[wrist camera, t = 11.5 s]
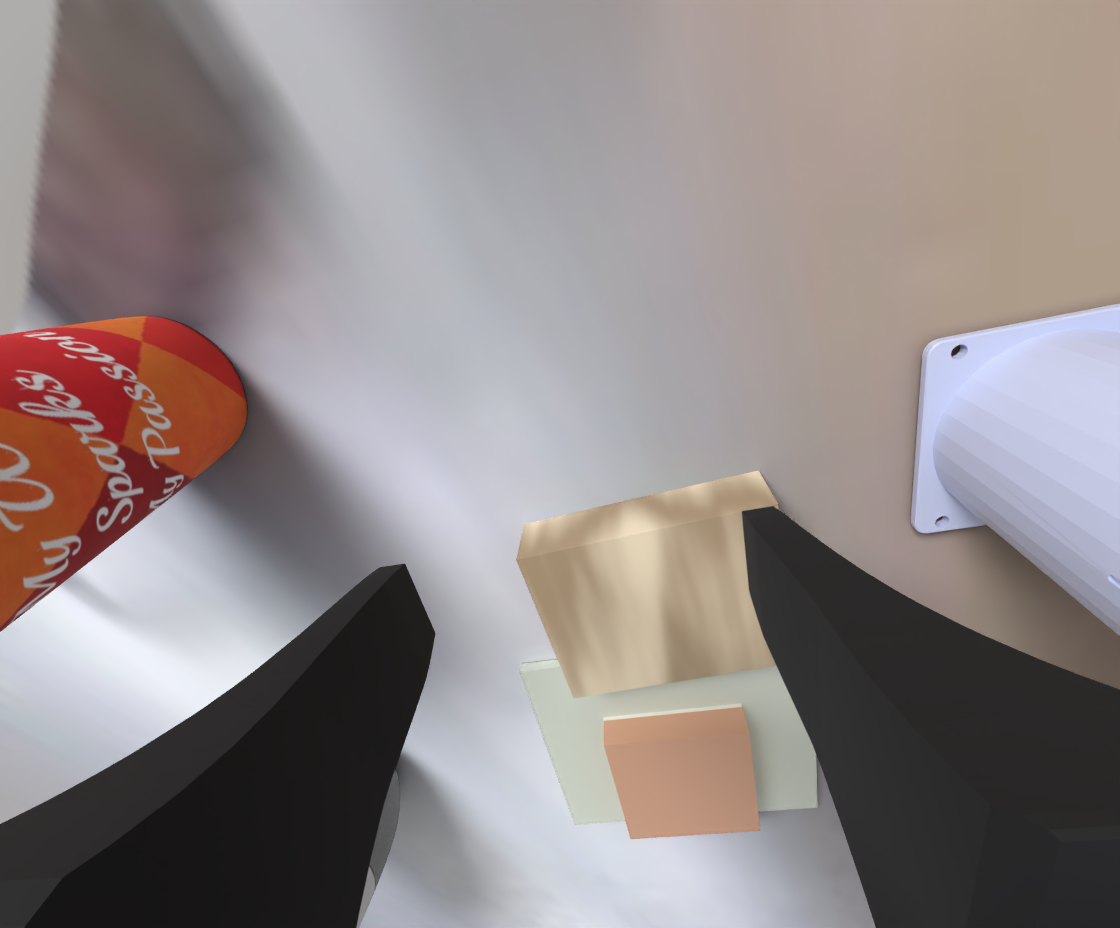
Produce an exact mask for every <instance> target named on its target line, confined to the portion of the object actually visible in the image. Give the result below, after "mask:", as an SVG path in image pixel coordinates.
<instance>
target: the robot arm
mask: <svg viewBox="0 0 1120 928" xmlns="http://www.w3.org/2000/svg"><path fill="white" fill-rule="evenodd" d="M958 345H960V346H961V348H960V351H959V352H958V353H957V354H956V355H954V356H952V357H951V352H952V349H953V348H954V347H955V346H958ZM942 516H943V518H942V519H941V520H940V521H937V522H936V520H937V519H938V518H939V517H942ZM742 521H743V532H744V543H745V554H746V564H747V575H748V586H749V593H750V596H751V599H752V603H753V606H754V609H755V612H756V616H757V619H758V622H759V625H760V628H761V631H762V634H763V637H764V639H765V641H766V644H767V646H768V648H769V650H770V653H771V655H772V657H773V659H774V661H775V664H776V666H777V668H778V670H779V673H780V675H781V677H782V679H783V681H784V683H785V686H786V688H787V690H788V692H789V694H790V697H791V699H792V701H793V703H794V705H795V708H796V710H797V712H798V714H799V716H800V718H801V721H802V723H803V725H804V727H805V729H806V732H807V734H808V736H809V738H810V740H811V743H812V745H813V747H814V750H815V752H816V755H817V757H818V760H819V762H820V765H821V767H822V770H823V773H824V776H825V778H826V781H827V784H828V787H829V790H830V793H831V796H832V798H833V801H834V804H835V807H836V810H837V813H838V816H839V818H840V821H841V824H842V827H843V830H844V833H845V836H846V839H847V842H848V845H849V848H850V851H851V854H852V857H853V860H854V863H855V866H856V869H857V871H858V874H859V877H860V880H861V883H862V886H863V889H864V892H865V895H866V898H867V902H868V905H869V908H870V911H871V914H872V917H873V920H874V923H875V926H876V928H1120V690H1119V689H1116V688H1114V687H1111V686H1108V685H1105V684H1103V683H1100V682H1097V681H1094V680H1091V679H1089V678H1086V677H1083V676H1080V675H1078V674H1075V673H1073V672H1070V671H1067V670H1065V669H1062V668H1060V667H1057V666H1055V665H1052V664H1050V663H1047V662H1045V661H1042V660H1040V659H1037V658H1035V657H1032V656H1030V655H1028V654H1025V653H1023V652H1021V651H1018V650H1016V649H1014V648H1011V647H1009V646H1007V645H1005V644H1002V643H1000V642H998V641H995V640H993V639H991V638H988V637H986V636H984V635H982V634H980V633H977V632H975V631H973V630H971V629H969V628H967V627H965V626H962V625H960V624H958V623H956V622H954V621H952V620H950V619H948V618H946V617H945V616H943V615H941V614H939V613H937V612H935V611H933V610H931V609H929V608H927V607H925V606H923V605H921V604H919V603H917V602H915V601H914V600H912V599H910V598H908V597H906V596H905V595H903V594H901V593H899V592H898V591H896V590H894V589H893V588H891V587H889V586H888V585H886V584H884V583H883V582H881V581H879V580H878V579H876V578H874V577H873V576H871V575H869V574H868V573H866V572H865V571H863V570H861V569H860V568H858V567H857V566H855V565H854V564H852V563H851V562H849V561H848V560H847V559H845V558H844V557H842V556H841V555H839V554H838V553H836V552H835V551H833V550H832V549H831V548H829V547H828V546H826V545H825V544H824V543H822V542H821V541H819V540H818V539H817V538H815V537H814V536H813V535H811V534H810V533H809V532H807V531H806V530H805V529H803V528H802V527H801V526H799V525H798V524H797V523H795V522H794V521H793V520H791V519H790V518H789V517H788V516H786V515H785V514H784V513H782V512H781V511H779V510H778V509H777V508H775V507H774V506H771V507H764V508H758V509H752V510H745V511H742ZM911 525H912V526H913V527H914V528H915V529H916V530H917V531H918V532H920V533H933V532H940V531H947V530H954V529H961V528H968V527H975V526H983V525H988V526H989V527H990V528H991V529H992V530H994V531H995V532H996V533H997V534H998V535H1000V536H1001V537H1002V538H1003V539H1004V540H1005V541H1007V542H1008V543H1009V544H1010V545H1011V546H1013V547H1014V548H1015V549H1016V550H1017V551H1019V552H1020V553H1021V554H1022V555H1023V556H1025V557H1026V558H1027V559H1028V560H1029V561H1031V562H1032V563H1033V564H1034V565H1035V566H1036V567H1038V568H1039V569H1040V570H1041V571H1042V572H1044V573H1045V574H1046V575H1047V576H1048V577H1050V578H1051V579H1052V580H1053V581H1054V582H1056V583H1057V584H1058V585H1059V586H1060V587H1061V588H1063V589H1064V590H1065V591H1066V592H1067V593H1069V594H1070V595H1071V596H1072V597H1073V598H1075V599H1076V600H1077V601H1078V602H1079V603H1081V604H1082V605H1083V606H1084V607H1085V608H1087V609H1088V610H1089V611H1090V612H1091V613H1092V614H1094V615H1095V616H1096V617H1097V618H1098V619H1100V620H1101V621H1102V622H1103V623H1104V624H1106V625H1107V626H1108V627H1109V628H1110V629H1112V630H1113V631H1114V632H1115V633H1116V634H1118V635H1119V636H1120V304H1115V305H1109V306H1104V307H1099V308H1094V309H1089V310H1084V311H1078V312H1073V313H1068V314H1063V315H1058V316H1052V317H1047V318H1042V319H1037V320H1032V321H1027V322H1021V323H1016V324H1011V325H1006V326H1001V327H996V328H990V329H985V330H980V331H975V332H970V333H964V334H959V335H954V336H949V337H944V338H939V339H936V340H933V341H932V342H930V343H929V344H928V345H927V346H926V348H925V349H924V351H923V355H922V367H921V381H920V395H919V409H918V424H917V438H916V452H915V466H914V481H913V495H912V509H911ZM434 638H435V631H434V629H433V627H432V624H431V622H430V620H429V618H428V615H427V613H426V611H425V608H424V606H423V604H422V602H421V599H420V597H419V595H418V592H417V590H416V588H415V585H414V583H413V581H412V579H411V576H410V574H409V572H408V569H407V567H406V565H405V564H399V565H393V566H386V567H380V568H378V569H377V570H375V571H374V572H373V573H371V574H370V575H369V576H367V577H366V578H365V579H364V580H362V581H361V582H360V583H359V584H358V585H356V586H355V587H354V588H353V589H352V590H350V591H349V592H348V593H347V594H346V595H345V596H343V597H342V598H341V599H340V600H339V601H338V602H337V603H335V604H334V605H333V606H332V607H331V608H330V609H329V610H327V611H326V612H325V613H324V614H323V615H322V616H320V617H319V618H318V619H317V620H316V621H315V622H314V623H312V624H311V625H310V626H309V627H308V628H307V629H305V630H304V631H303V632H302V633H301V634H300V635H298V636H297V637H296V638H295V639H293V640H292V641H291V642H290V643H288V644H287V645H286V646H285V647H284V648H282V649H281V650H280V651H279V652H277V653H276V654H275V655H274V656H273V657H271V658H270V659H269V660H268V661H266V662H265V663H264V664H263V665H261V666H260V667H259V668H258V669H256V670H255V671H254V672H253V673H251V674H250V675H249V676H247V677H246V678H245V679H243V680H242V681H241V682H239V683H238V684H237V685H235V686H234V687H233V688H231V689H230V690H228V691H227V692H226V693H224V694H223V695H221V696H220V697H218V698H217V699H216V700H214V701H213V702H211V703H210V704H209V705H207V706H206V707H204V708H203V709H201V710H200V711H198V712H197V713H195V714H194V715H193V716H191V717H189V718H188V719H186V720H185V721H183V722H181V723H180V724H178V725H177V726H175V727H174V728H172V729H170V730H169V731H167V732H166V733H164V734H162V735H161V736H159V737H158V738H156V739H155V740H153V741H151V742H150V743H148V744H147V745H145V746H144V747H142V748H140V749H139V750H137V751H135V752H134V753H132V754H130V755H129V756H127V757H125V758H124V759H122V760H120V761H118V762H117V763H115V764H113V765H111V766H110V767H108V768H106V769H104V770H103V771H101V772H99V773H98V774H96V775H94V776H92V777H90V778H88V779H87V780H85V781H83V782H81V783H79V784H77V785H76V786H74V787H72V788H70V789H68V790H66V791H65V792H63V793H61V794H59V795H57V796H55V797H53V798H51V799H50V800H48V801H46V802H44V803H42V804H40V805H38V806H36V807H34V808H32V809H30V810H28V811H26V812H24V813H22V814H20V815H18V816H16V817H14V818H12V819H10V820H8V821H6V822H4V823H2V824H0V928H356V927H357V922H358V917H359V912H360V907H361V902H362V898H363V893H364V888H365V884H366V879H367V874H368V870H369V865H370V860H371V856H372V852H373V848H374V843H375V839H376V835H377V831H378V827H379V823H380V819H381V815H382V811H383V806H384V803H385V799H386V796H387V793H388V789H389V786H390V783H391V780H392V777H393V774H394V771H395V768H396V765H397V762H398V759H399V757H400V754H401V751H402V748H403V745H404V742H405V739H406V736H407V734H408V731H409V728H410V725H411V722H412V719H413V716H414V714H415V711H416V708H417V705H418V702H419V699H420V696H421V693H422V690H423V687H424V684H425V681H426V678H427V673H428V669H429V664H430V659H431V654H432V649H433V643H434Z"/></svg>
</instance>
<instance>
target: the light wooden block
mask: <svg viewBox="0 0 1120 928" xmlns="http://www.w3.org/2000/svg"><path fill="white" fill-rule="evenodd" d="M771 506H774V507H775V508H777V509H778V510H779V507H778V503H777V501H776V499H775V498H774V496H773V494H772V493H771V491H770V489H769V487H768V486H767V484H766V482H765V481H764V479H763V477H762V476H761V474H760V472H759V471H754V472H750V473H746V474H741V475H737V476H733V477H728V478H724V479H719V480H715V481H711V482H706V483H702V484H697V485H693V486H689V487H684V488H680V489H676V490H671V491H667V492H662V493H658V494H654V495H649V496H645V497H641V498H636V499H632V500H627V501H623V502H619V503H614V504H610V505H605V506H601V507H597V508H592V509H588V510H584V511H579V512H575V513H570V514H566V515H562V516H557V517H553V518H549V519H544V520H540V521H535V522H531V523H527V524H524V528H523V533H522V537H521V541H520V546H519V550H518V555H517V559H516V560H517V563H518V565H519V567H520V570H521V572H522V575H523V577H524V579H525V582H526V584H527V587H528V589H529V592H530V594H531V596H532V599H533V601H534V604H535V606H536V609H537V611H538V613H539V616H540V618H541V621H542V623H543V625H544V628H545V630H546V633H547V635H548V638H549V640H550V642H551V645H552V647H553V650H554V652H555V654H556V657H557V659H558V662H559V664H560V667H561V669H562V671H563V674H564V676H565V679H566V681H567V684H568V686H569V688H570V691H571V693H572V696H573V698H579V697H585V696H592V695H598V694H604V693H611V692H617V691H623V690H629V689H636V688H642V687H648V686H654V685H661V684H667V683H673V682H679V681H686V680H692V679H698V678H704V677H711V676H717V675H723V674H729V673H736V672H742V671H748V670H754V669H761V668H767V667H773V666H776V664H775V661H774V659H773V657H772V655H771V653H770V650H769V648H768V646H767V644H766V641H765V639H764V637H763V634H762V631H761V628H760V625H759V622H758V619H757V616H756V612H755V609H754V606H753V603H752V599H751V596H750V593H749V586H748V575H747V564H746V554H745V543H744V532H743V521H742V511H745V510H752V509H758V508H764V507H771Z"/></svg>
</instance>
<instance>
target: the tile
mask: <svg viewBox="0 0 1120 928" xmlns="http://www.w3.org/2000/svg"><path fill="white" fill-rule="evenodd" d="M603 721H604V748H605V751H606V755H607V758H608V762H609V765H610V769H611V772H612V776H613V779H614V783H615V786H616V790H617V793H618V797H619V800H620V804H621V807H622V810H623V814H624V817H625V821H626V824H627V828H628V831H629V835H630V838H631V839H640V838H656V837H671V836H686V835H702V834H717V833H733V832H748V831H760V825H759V816H758V806H757V797H756V788H755V778H754V769H753V760H752V750H751V741H750V732H749V729H748V725H747V722H746V718H745V715H744V711H743V708H742V704H731V705H721V706H712V707H702V708H692V709H682V710H672V711H662V712H652V713H642V714H632V715H622V716H613V717H603Z"/></svg>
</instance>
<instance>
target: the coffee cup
mask: <svg viewBox="0 0 1120 928" xmlns="http://www.w3.org/2000/svg"><path fill="white" fill-rule="evenodd" d="M246 420H247V400H246V395H245V391H244V388H243V385H242V382H241V380H240V378H239V376H238V374H237V372H236V370H235V369H234V367H233V366H232V364H231V363H230V361H229V360H228V359H227V357H226V356H225V355H224V354H223V353H222V352H221V350H220V349H219V348H218V347H217V346H216V345H214V344H213V343H212V342H211V341H210V340H209V339H207V338H206V337H205V336H203V335H202V334H200V333H199V332H197V331H196V330H194V329H192V328H190V327H188V326H186V325H184V324H182V323H179V322H177V321H174V320H170V319H167V318H162V317H152V316H139V317H127V318H118V319H111V320H103V321H95V322H88V323H81V324H74V325H67V326H61V327H54V328H47V329H40V330H33V331H26V332H20V333H13V334H7V335H1V336H0V632H1V631H2V630H3V629H5V628H6V627H7V626H8V625H10V624H11V623H12V622H13V621H15V620H16V619H17V618H19V617H20V616H21V615H22V614H24V613H25V612H26V611H27V610H29V609H30V608H31V607H33V606H34V605H35V604H36V603H38V602H39V601H40V600H41V599H43V598H44V597H45V596H47V595H48V594H49V593H50V592H52V591H53V590H54V589H55V588H57V587H58V586H59V585H61V584H62V583H63V582H64V581H66V580H67V579H68V578H69V577H71V576H72V575H73V574H74V573H76V572H77V571H78V570H80V569H81V568H82V567H83V566H85V565H86V564H87V563H88V562H90V561H91V560H92V559H94V558H95V557H96V556H97V555H99V554H100V553H101V552H102V551H104V550H105V549H106V548H108V547H109V546H110V545H111V544H113V543H114V542H115V541H116V540H118V539H119V538H120V537H121V536H123V535H124V534H125V533H126V532H128V531H129V530H130V529H132V528H133V527H134V526H135V525H137V524H138V523H139V522H140V521H142V520H143V519H144V518H145V517H147V516H148V515H149V514H151V513H152V512H153V511H154V510H156V509H157V508H158V507H159V506H161V505H162V504H163V503H164V502H166V501H167V500H168V499H169V498H171V497H172V496H173V495H174V494H176V493H177V492H178V491H179V490H181V489H182V488H183V487H184V486H186V485H187V484H188V483H189V482H191V481H192V480H193V479H194V478H196V477H197V476H198V475H199V474H201V473H202V472H203V471H204V470H205V469H207V468H208V467H209V466H210V465H211V464H213V463H214V462H215V461H216V460H217V459H219V458H220V457H221V456H222V455H223V454H224V453H226V452H227V451H228V450H229V449H230V448H231V447H232V446H233V445H234V444H235V443H236V441H237V440H238V439H239V437H240V436H241V434H242V432H243V430H244V427H245V424H246Z"/></svg>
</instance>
